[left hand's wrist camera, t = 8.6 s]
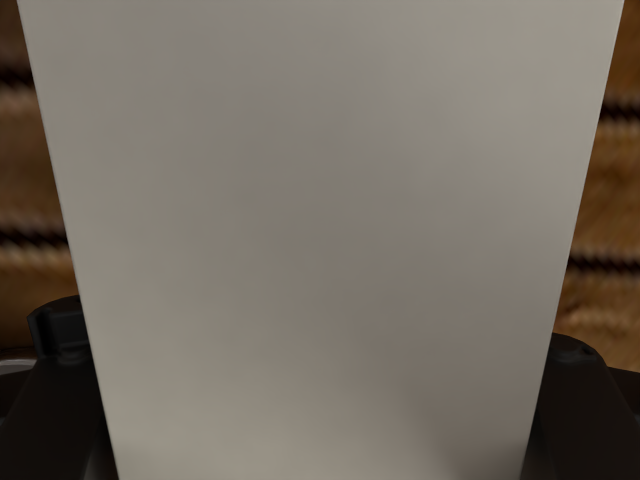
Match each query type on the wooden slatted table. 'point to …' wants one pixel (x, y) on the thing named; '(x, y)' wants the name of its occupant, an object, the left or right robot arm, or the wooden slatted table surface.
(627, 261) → the wooden slatted table surface
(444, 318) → the bar
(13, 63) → the wooden slatted table surface
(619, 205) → the wooden slatted table surface
